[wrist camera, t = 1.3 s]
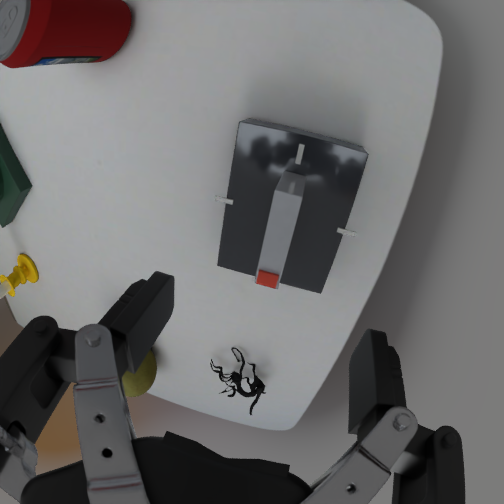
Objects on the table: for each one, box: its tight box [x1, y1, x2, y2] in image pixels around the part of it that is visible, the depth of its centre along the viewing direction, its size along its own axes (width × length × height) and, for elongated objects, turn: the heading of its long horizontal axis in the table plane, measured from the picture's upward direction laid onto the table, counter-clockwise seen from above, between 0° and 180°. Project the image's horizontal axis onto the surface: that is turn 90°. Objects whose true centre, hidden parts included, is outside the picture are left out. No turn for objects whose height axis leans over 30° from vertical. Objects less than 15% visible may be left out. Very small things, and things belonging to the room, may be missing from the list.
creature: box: [210, 348, 265, 415], centre depth 34 cm, size 8×5×8 cm
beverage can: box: [0, 0, 131, 68], centre depth 14 cm, size 7×7×12 cm
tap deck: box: [215, 118, 368, 294], centre depth 23 cm, size 12×11×3 cm
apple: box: [122, 350, 157, 397], centre depth 36 cm, size 8×8×7 cm
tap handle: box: [254, 171, 306, 289], centre depth 20 cm, size 6×2×5 cm, turn 170°
